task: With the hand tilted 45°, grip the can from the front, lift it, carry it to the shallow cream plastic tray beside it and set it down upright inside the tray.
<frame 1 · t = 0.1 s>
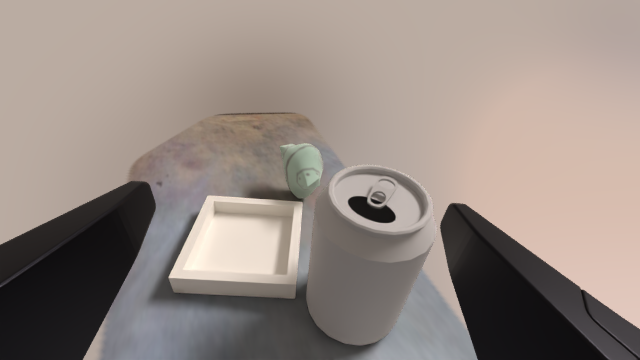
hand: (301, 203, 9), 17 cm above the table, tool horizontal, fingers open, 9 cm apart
tray: (247, 248, 28), on the table
green oval piece: (301, 196, 35), on the table
can: (350, 304, 24), on the table
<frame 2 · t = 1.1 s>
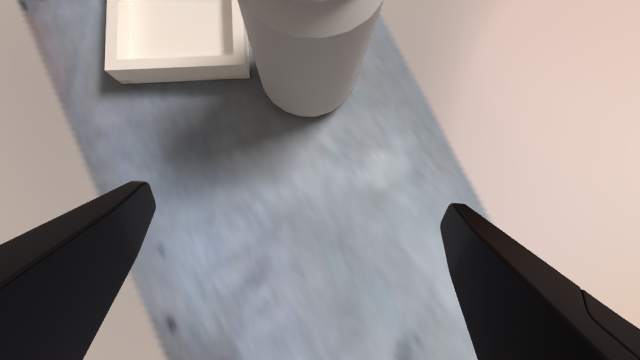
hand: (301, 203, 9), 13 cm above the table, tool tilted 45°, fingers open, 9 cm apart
tray: (186, 24, 24), on the table
can: (307, 78, 24), on the table
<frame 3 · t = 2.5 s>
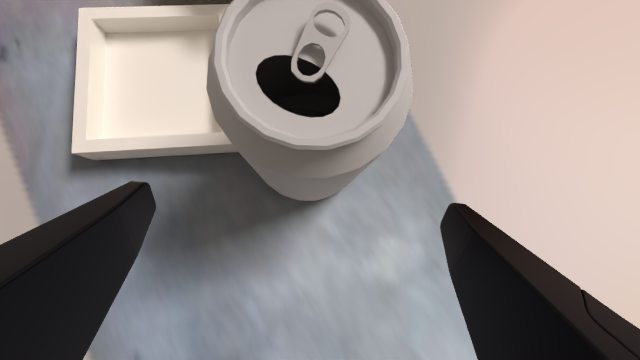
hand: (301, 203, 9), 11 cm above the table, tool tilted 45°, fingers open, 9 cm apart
tray: (169, 88, 21), on the table
can: (307, 150, 21), on the table
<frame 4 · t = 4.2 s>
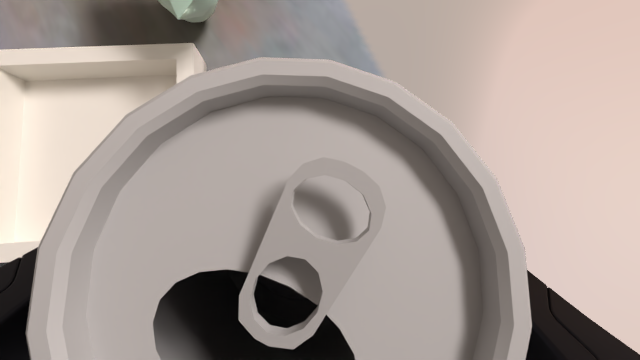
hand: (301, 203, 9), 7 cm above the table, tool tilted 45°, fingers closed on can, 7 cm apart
tray: (112, 156, 15), on the table
green oval piece: (203, 12, 17), on the table
can: (300, 238, 15), on the table, touching gripper
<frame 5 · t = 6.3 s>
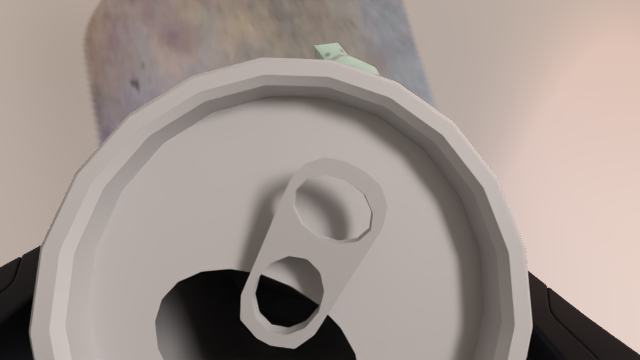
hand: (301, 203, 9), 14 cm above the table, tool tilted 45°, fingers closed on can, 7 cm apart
green oval piece: (343, 120, 24), on the table
can: (301, 238, 15), point 7 cm above the table, touching gripper
when the fingers open (8 cm above the table, at t = 8.4 s): can stays where it is, resting on tray.
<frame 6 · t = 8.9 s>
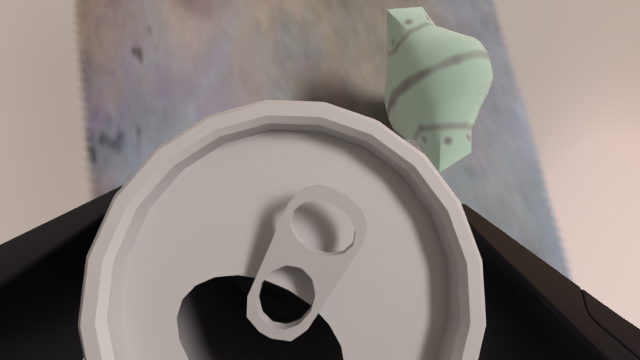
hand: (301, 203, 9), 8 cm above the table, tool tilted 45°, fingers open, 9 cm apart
green oval piece: (404, 119, 18), on the table
can: (300, 241, 16), resting on tray
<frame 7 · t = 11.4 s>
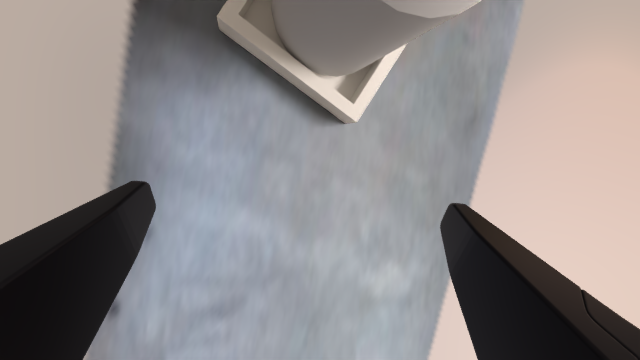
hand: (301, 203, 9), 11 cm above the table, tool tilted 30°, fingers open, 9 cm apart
tray: (327, 17, 19), on the table
can: (327, 19, 19), resting on tray
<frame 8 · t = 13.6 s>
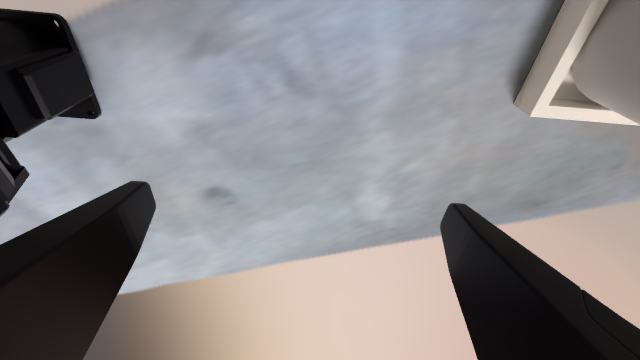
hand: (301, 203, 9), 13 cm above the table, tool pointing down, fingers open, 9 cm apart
tray: (629, 33, 18), on the table
can: (629, 35, 18), resting on tray
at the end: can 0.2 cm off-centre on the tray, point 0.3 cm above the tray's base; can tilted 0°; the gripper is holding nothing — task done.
